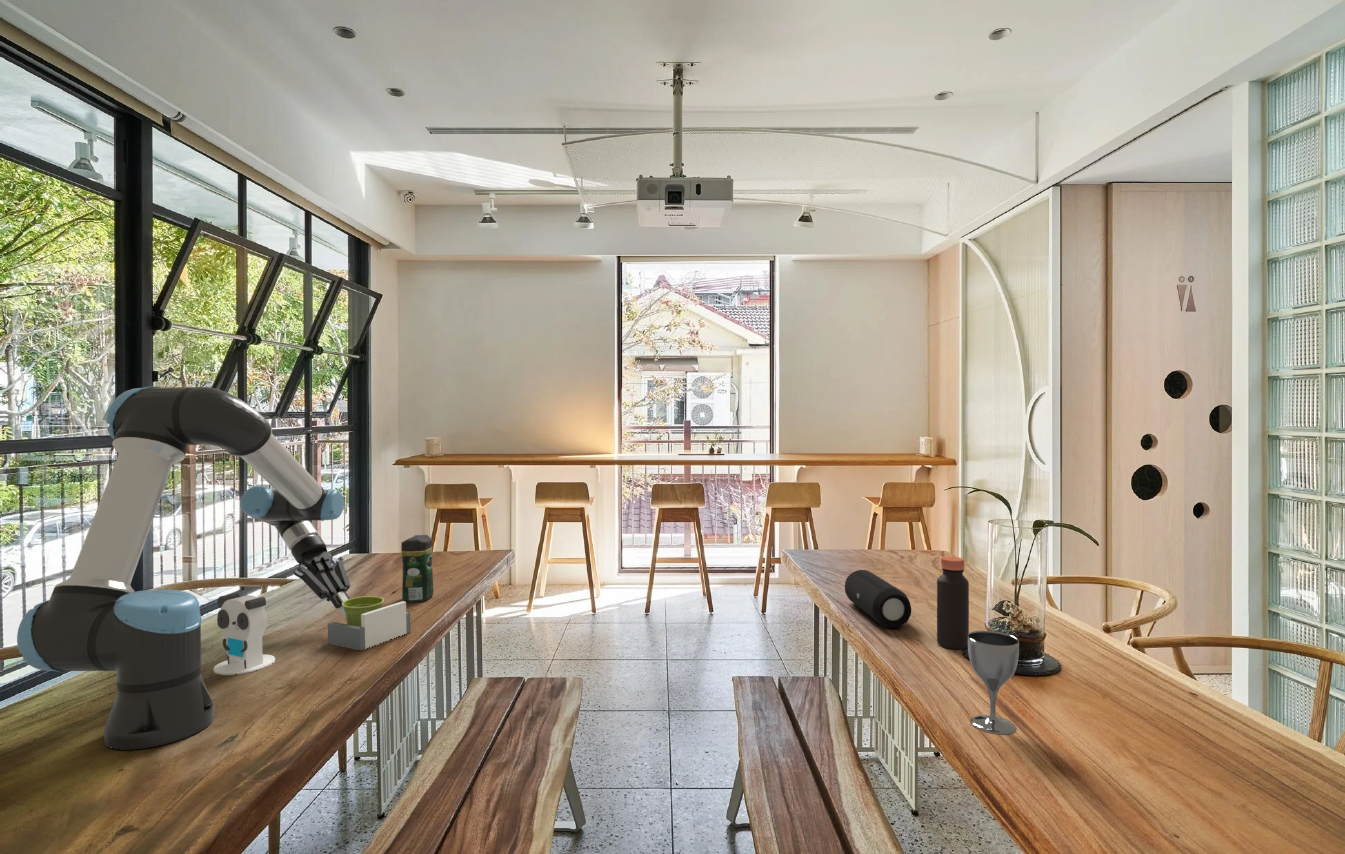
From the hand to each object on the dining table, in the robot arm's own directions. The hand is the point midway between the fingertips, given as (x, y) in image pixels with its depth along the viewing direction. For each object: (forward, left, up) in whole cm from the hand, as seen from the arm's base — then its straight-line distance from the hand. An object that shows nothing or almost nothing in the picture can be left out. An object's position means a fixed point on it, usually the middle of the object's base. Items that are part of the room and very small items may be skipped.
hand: (350, 615), depth 167 cm
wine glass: (+14, -144, -5) cm, 144 cm away
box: (0, -7, -5) cm, 8 cm away
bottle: (+54, -135, -5) cm, 145 cm away
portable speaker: (+70, -115, -5) cm, 135 cm away
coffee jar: (+31, +10, -5) cm, 33 cm away
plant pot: (0, -5, -5) cm, 7 cm away
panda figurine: (-24, +3, -5) cm, 25 cm away
